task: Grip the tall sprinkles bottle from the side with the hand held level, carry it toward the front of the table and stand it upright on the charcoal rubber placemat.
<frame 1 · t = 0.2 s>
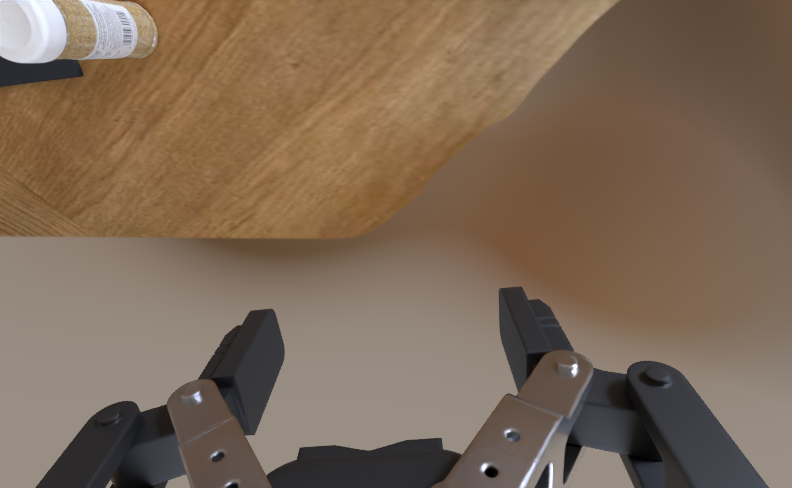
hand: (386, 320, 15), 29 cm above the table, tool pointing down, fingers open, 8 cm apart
sprinkles bottle: (135, 31, 38), on the table
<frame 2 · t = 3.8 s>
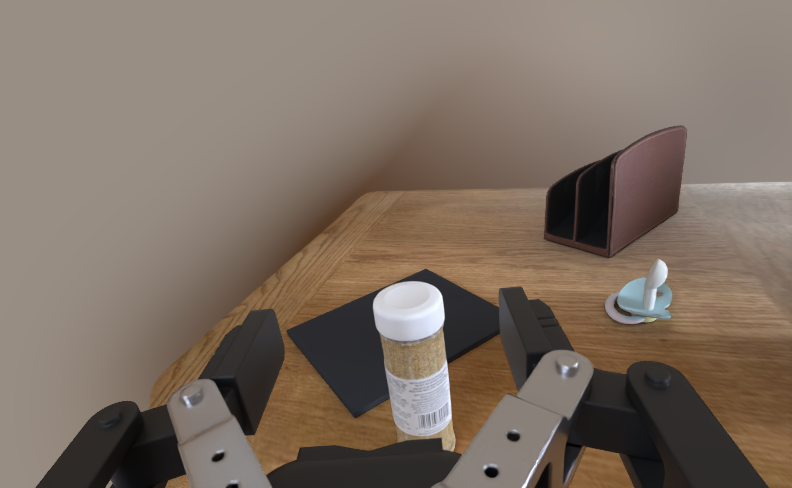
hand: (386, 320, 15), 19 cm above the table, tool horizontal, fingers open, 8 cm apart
pacifier: (636, 313, 45), on the table
placemat: (398, 328, 48), on the table
sprinkles bottle: (426, 446, 33), on the table
letter holder: (611, 227, 65), on the table
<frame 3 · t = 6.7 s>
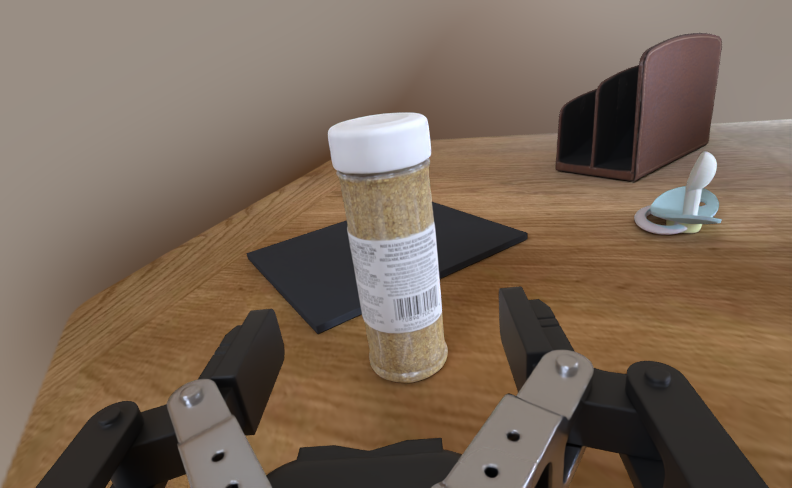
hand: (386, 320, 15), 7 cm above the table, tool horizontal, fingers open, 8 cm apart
pacifier: (673, 227, 37), on the table
placemat: (382, 249, 39), on the table
sprinkles bottle: (408, 361, 25), on the table
letter holder: (633, 159, 56), on the table
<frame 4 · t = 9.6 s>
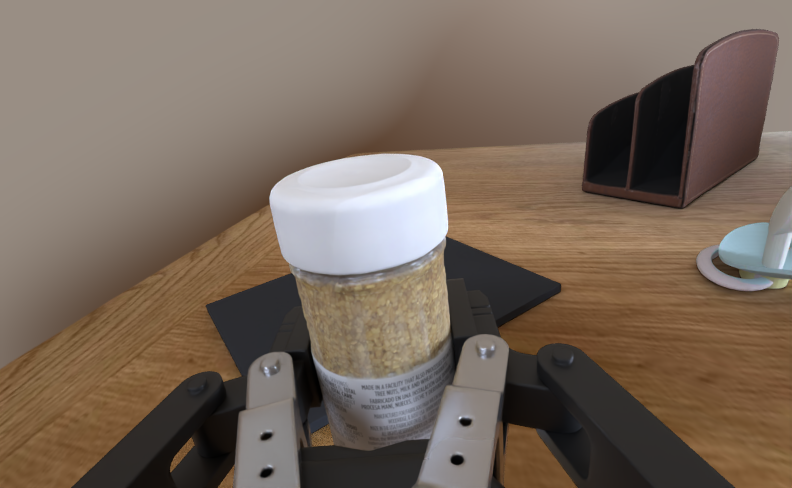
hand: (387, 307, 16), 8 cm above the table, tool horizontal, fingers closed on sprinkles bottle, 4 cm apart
pacifier: (748, 276, 29), on the table
placemat: (375, 302, 31), on the table
letter holder: (671, 177, 48), on the table
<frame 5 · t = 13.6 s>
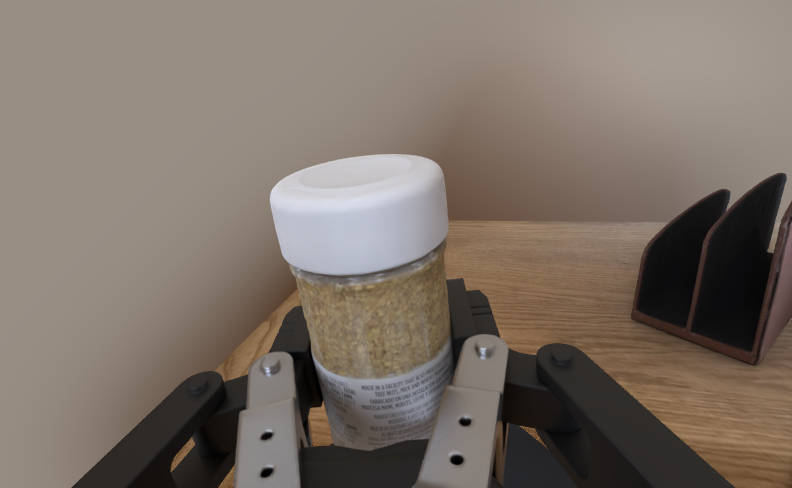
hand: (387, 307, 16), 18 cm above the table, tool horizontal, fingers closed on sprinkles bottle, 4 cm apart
letter holder: (728, 298, 43), on the table
when the fingers open (8 cm above the table, at t = 17.7 s): sprinkles bottle stays where it is, resting on placemat.
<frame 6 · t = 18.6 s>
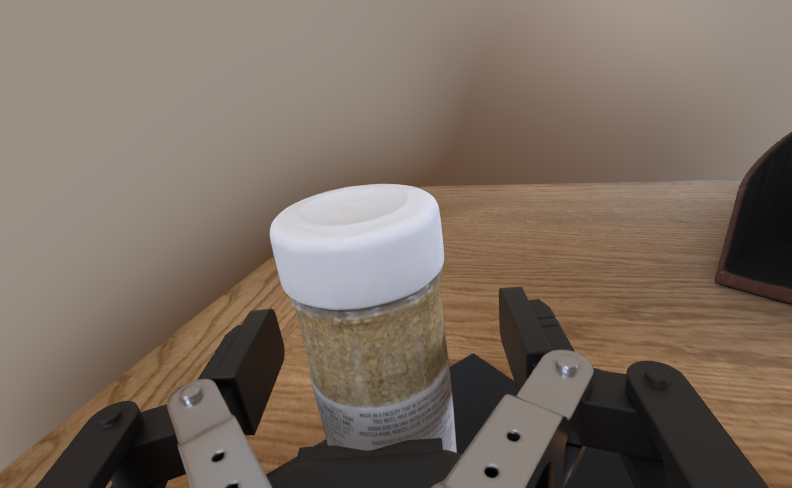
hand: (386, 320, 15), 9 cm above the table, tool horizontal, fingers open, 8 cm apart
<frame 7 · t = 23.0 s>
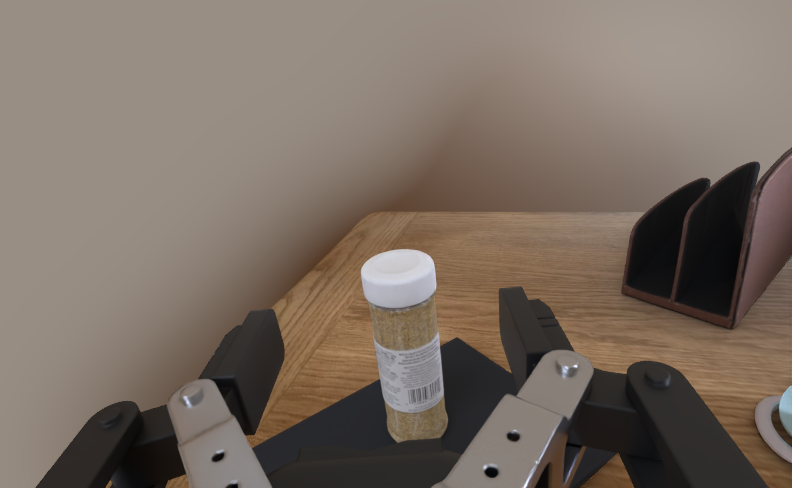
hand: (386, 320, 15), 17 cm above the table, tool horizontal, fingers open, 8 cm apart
placemat: (425, 454, 30), on the table
sprinkles bottle: (417, 426, 32), resting on placemat
letter holder: (709, 275, 47), on the table
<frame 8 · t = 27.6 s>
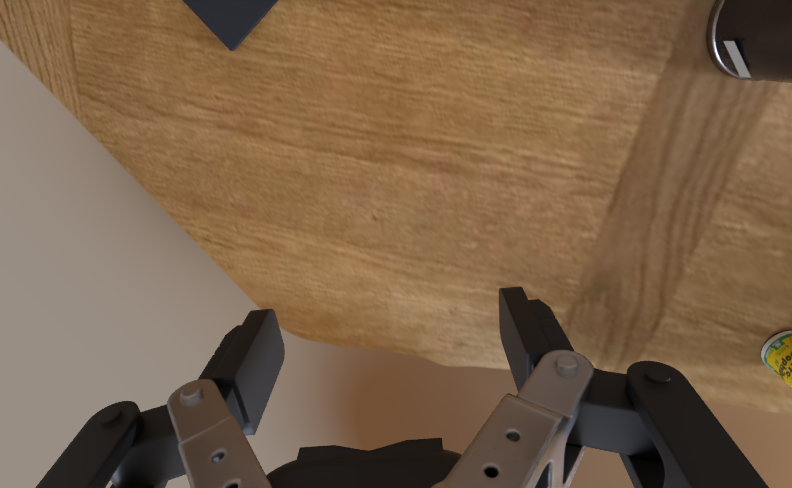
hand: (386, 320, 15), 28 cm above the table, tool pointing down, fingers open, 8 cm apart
supplement bottle: (782, 346, 49), on the table
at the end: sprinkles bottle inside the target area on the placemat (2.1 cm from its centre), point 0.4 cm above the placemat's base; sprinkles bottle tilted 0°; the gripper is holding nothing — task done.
